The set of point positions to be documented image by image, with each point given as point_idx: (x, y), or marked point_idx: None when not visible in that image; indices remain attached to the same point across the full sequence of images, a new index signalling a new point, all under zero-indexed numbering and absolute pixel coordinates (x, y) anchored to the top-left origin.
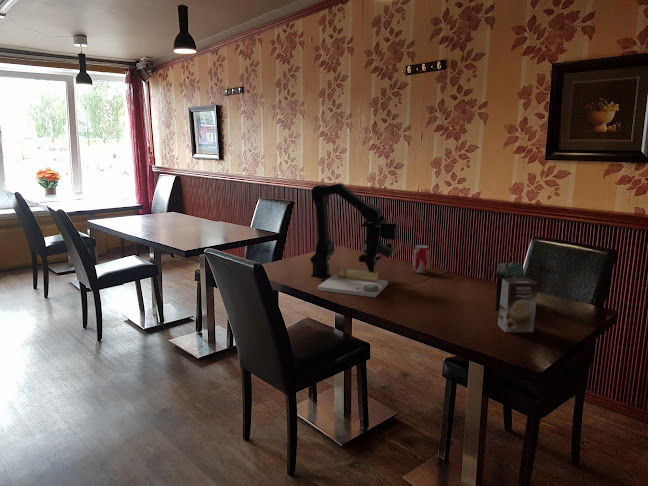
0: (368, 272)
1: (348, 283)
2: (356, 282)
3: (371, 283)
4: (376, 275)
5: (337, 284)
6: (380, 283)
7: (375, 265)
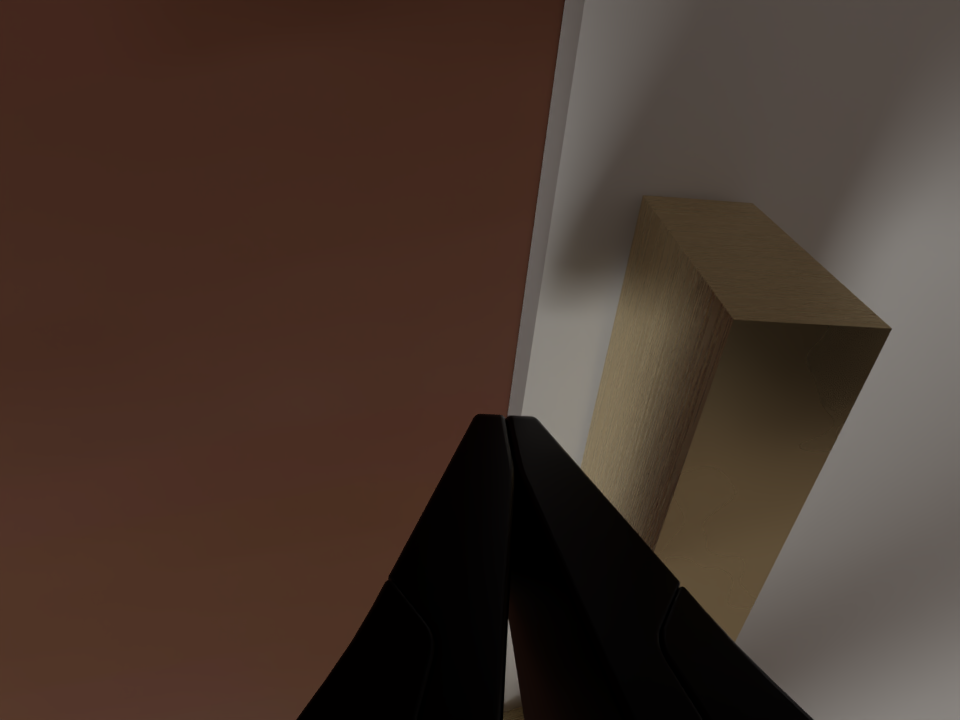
0: (765, 560)
1: (890, 625)
2: (827, 548)
3: (916, 288)
4: (835, 290)
5: (934, 709)
6: (935, 46)
7: (460, 616)
